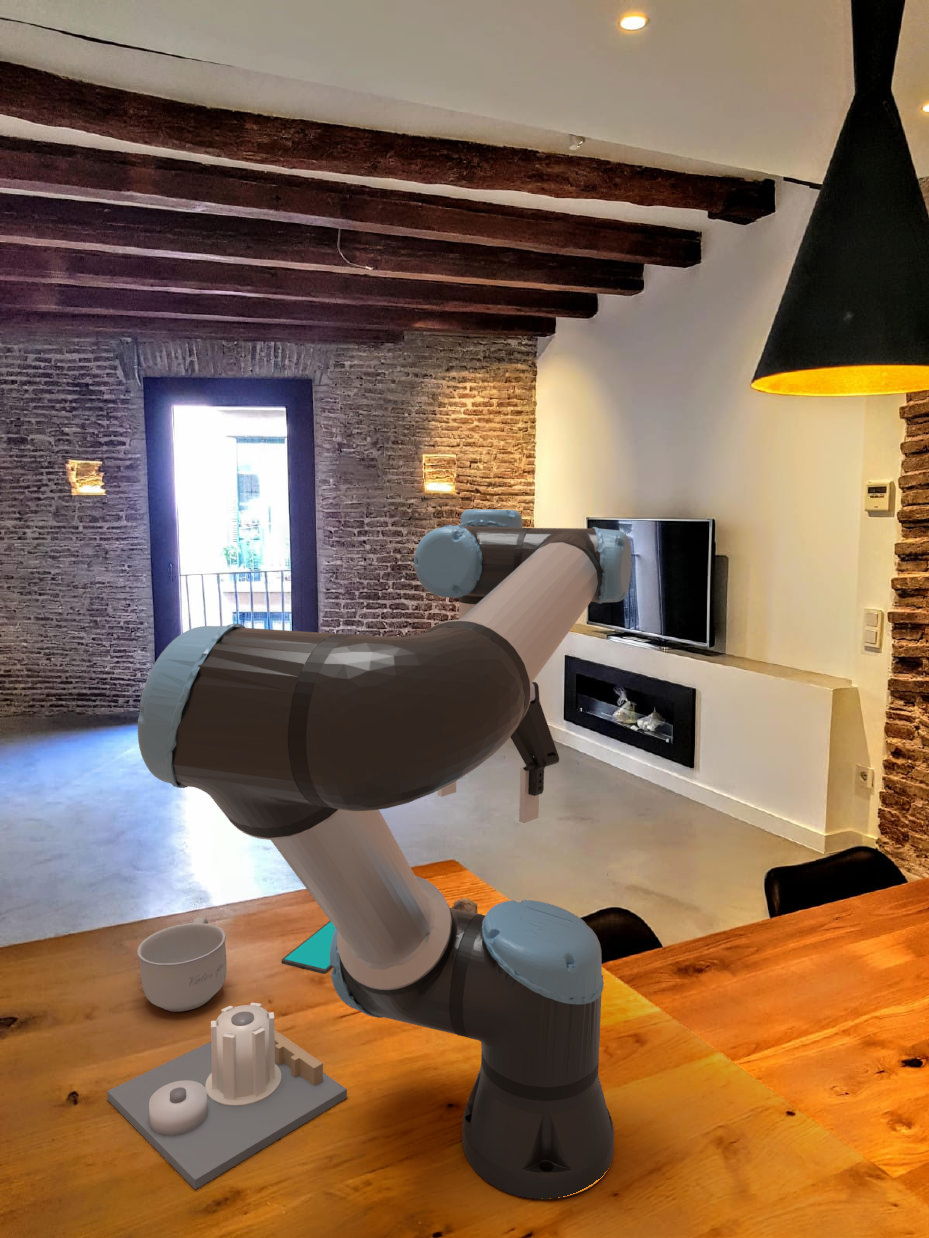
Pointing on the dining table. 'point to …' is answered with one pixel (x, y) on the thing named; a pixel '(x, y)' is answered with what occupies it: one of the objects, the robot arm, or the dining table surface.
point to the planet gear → (243, 1050)
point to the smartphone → (313, 951)
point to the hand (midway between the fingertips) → (486, 806)
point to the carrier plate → (222, 1109)
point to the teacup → (183, 965)
